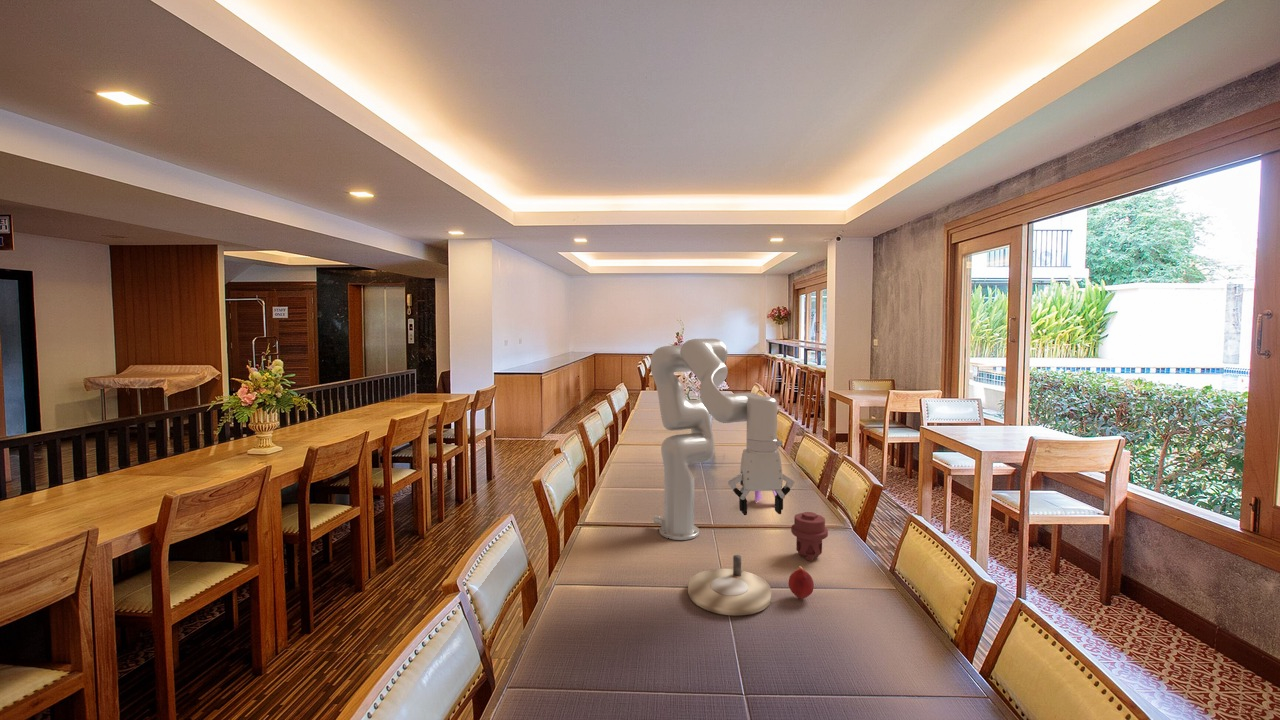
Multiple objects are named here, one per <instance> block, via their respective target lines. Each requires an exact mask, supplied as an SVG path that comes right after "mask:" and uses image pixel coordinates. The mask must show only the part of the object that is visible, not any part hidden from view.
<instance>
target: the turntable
mask: <svg viewBox="0 0 1280 720" xmlns="http://www.w3.org/2000/svg"><path fill="white" fill-rule="evenodd" d="M732 560H733V561H732V562H733V563H732V568H712V569H705V570H703V571H700V572H698V573H696V574H694V575H693V576H692V577H690V578H689V580H688V583H687V593H688V596H689V599H690V600H691V601H692V602H693V603H694V604H695V605H696V606H698V607H700V608H702V609H704V610H706V611H708V612H712V613H714V614H718V615H725V616H747V615H753V614H757V613H759V612H761V611H763V610H765V609H767V607H769V606H770V604H771V602H772V588H771V586H770V584H769V583H768V582H767V581H766V580H765V579H764V578H762V577H760V576H759V575H756V574H754V573H752V572H748V571H745V570H742V556H741V555H740V554H734V555H733V557H732Z"/></svg>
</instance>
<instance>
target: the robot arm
mask: <svg viewBox="0 0 1280 720" xmlns="http://www.w3.org/2000/svg"><path fill="white" fill-rule="evenodd" d="M727 358H728V348H727V345H725V343H724V342H723V341H722V340H720V339H717V338H692V339H688V340H687V341H685V342H684V343H683V344H681V345H677V344H676V345H664V346H659V347H658V348H656V349H655V350H654V351H653V352H652V355H651V358H650V371H651V374H652V375H651V376H652V378H653V381H654V383H655V386H656V390H657V397H658V404H659V410H660V419H661V422H662V425H663V427H664V428H665V430H667V431H683V430H684V431H685V430H686V431H687V430H691V433H682V434H673V435H670V436H668V437H666V438H665V439H664V440H663V442H662V443H661V445H660V446H661V449H660V452H661V458H662V462H663V472H664V476H663V477H664V483H663V484H664V491H663V492H664V497H663V498H664V499H663V500H664V504H663V505H664V509H663V510H664V515H663V516H660V515H654V516H653V519H652V520H653V524H655V525H660V526H661V527H659V534H660V535H661V536H662V537H664V538H666V539H668V538H669V539H668V540H674V541H685V540H686V541H687V540H691V539H695V538H697V537H698V536H699V535H700V529H699V527H698V526H696V525H695V477H694V473H692V471H691V469H690V468H689V465H692V464H697V463H699V464H700V463H703V462H708V461H710V460H711V459H712V458H713V457H714V453H715V441H714V435H713V429H712V422H711V416H712V418H713V419H714V420H716V421H717V422H719V423H721V424H732V423H741V422H742V423H743V422H746V448H745V449H743V450H742V454H741V458H740V459H741V460H740V470H739V474H738V475H736V476H734V477H733V478H731V479H729V481H728V482H727V484H728V485H729V486H730V488H731V490H732V492H734V494H735V495H737V496H738V498H739V499H738V500H739V501H738V502H739V503H738V504H739V511H740V512H741V513H742V514H743V516H747V515H748V499H747V496H748V495H749V493H750V492H755V491H761V492H767V491H769V492H773V491H774V490H775V492H776V493H777V495H775V496H774V511H775V513H777V514H778V515H782V510H783V509H784V499H785V498H786V496H787V495H788V494H789V493H790V491H791V489H792V487H794V484H795V481H794V480H793V479H792V478H790V477H789V476H787V475H786V474H784V473H783V466H782V458H781V452H780V451H779V449H778V448H779V447H782V446H783V440H779V439H778V402H777V399H775V398H774V397H771V396H764V395H763V396H762V395H759V394H758V393H754V392H737V393H726V394H724V393H723V392H722V391H720V390H719V388H718V387H720V385H722V384H723V383H724V382H725V380H726V378H727V376H728V373H729V372H728V371H729V370H728V367H727V365H726V364H725V362H727ZM679 372H680V373H681V372H682V373H683V372H684V373H685V372H692V373H693V374H694V376H695V377H696V378H697V379H698V381H699V382H700V386H699V395H700V399H701V400H700V399H687V398H686V394H685V389H684V386H683V383H682V382H681V380H680V378H678V376H677V375H676V374H674V373H679ZM783 481H784V482H785V484H784V486H783V483H784V482H783ZM738 483H739V484H740V486H741V488H740V489H739V488H738V487H737V484H738Z"/></svg>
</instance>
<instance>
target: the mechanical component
mask: <svg viewBox="0 0 1280 720" xmlns="http://www.w3.org/2000/svg"><path fill="white" fill-rule="evenodd" d="M793 519H794V520H793V521H794V524H792V525H791V530H790V532H791V534H792V535H793V536H794V537H796V544H795V545H796V546H795V547H796V548H795V549H796V551H797V554H798V555H801V556H802V557H804V558H805V559H806V560H807V561H809V562H812V561H814V558H816V557H818V556H820V555H822V553H823V540H825V539H826V538H828V536H829V529H828V528H827V527H826V519H825V517H824V516H822V515H819V514H817V513H815V512H812V511H805V512H801V513H796V514H795V515H794V517H793Z"/></svg>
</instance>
